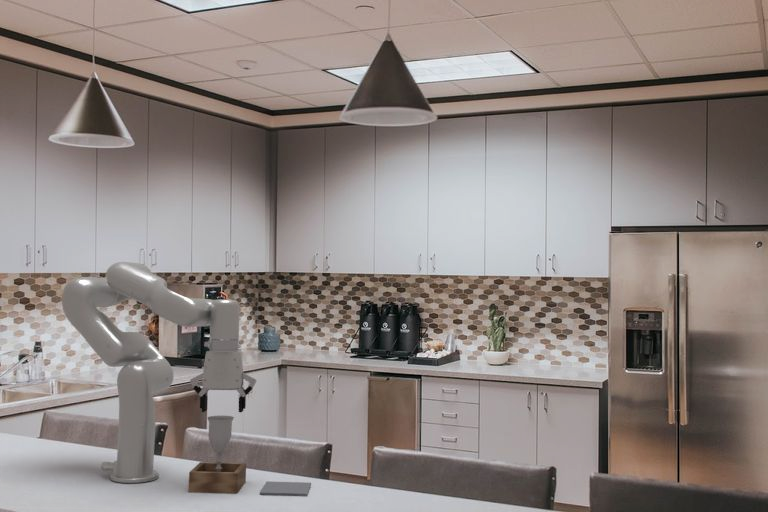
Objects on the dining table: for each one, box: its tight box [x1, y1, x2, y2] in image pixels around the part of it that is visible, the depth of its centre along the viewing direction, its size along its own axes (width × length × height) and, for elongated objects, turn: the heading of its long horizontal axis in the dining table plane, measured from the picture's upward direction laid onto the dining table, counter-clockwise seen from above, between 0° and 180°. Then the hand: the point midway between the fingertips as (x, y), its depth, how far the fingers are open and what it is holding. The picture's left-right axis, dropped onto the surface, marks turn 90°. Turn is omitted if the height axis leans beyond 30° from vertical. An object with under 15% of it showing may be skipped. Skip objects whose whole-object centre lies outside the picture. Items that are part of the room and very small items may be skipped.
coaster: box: [259, 481, 312, 497], centre depth 201 cm, size 12×12×1 cm
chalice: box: [207, 415, 235, 472], centre depth 202 cm, size 7×7×18 cm
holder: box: [188, 461, 247, 495], centre depth 202 cm, size 12×12×5 cm
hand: (222, 411), depth 203 cm, fingers open, 9 cm apart
